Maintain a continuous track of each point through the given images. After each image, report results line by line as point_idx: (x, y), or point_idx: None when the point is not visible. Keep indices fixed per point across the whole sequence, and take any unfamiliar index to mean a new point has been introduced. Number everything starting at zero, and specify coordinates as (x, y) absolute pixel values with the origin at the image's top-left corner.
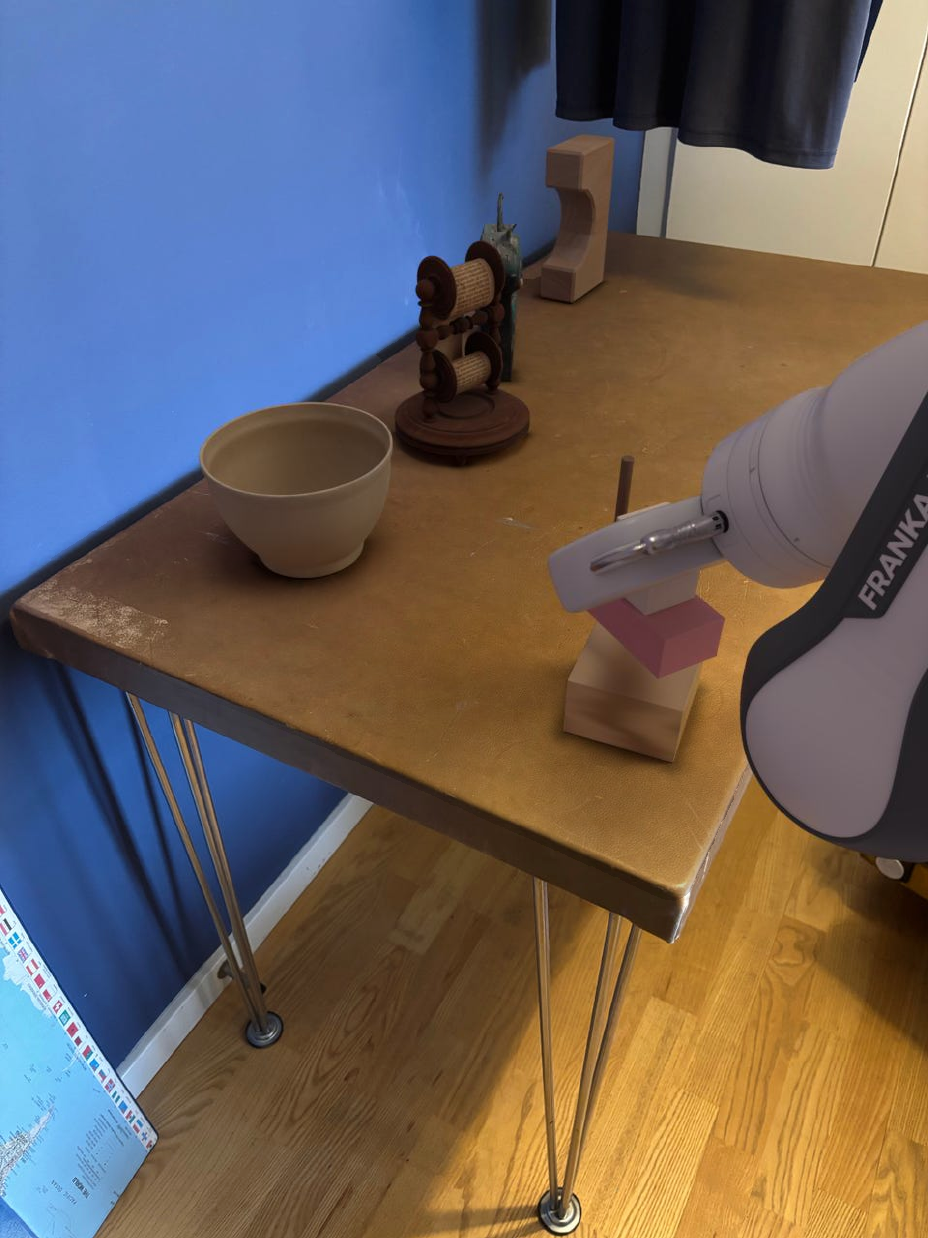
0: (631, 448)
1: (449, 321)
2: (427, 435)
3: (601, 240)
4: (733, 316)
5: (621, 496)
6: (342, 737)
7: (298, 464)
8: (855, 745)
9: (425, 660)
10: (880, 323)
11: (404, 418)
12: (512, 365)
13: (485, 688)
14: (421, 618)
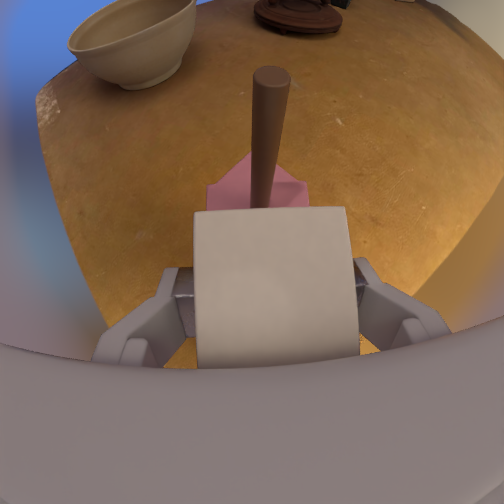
0: (397, 68)
1: None
2: (265, 13)
3: None
4: (466, 46)
5: (255, 148)
6: (68, 230)
7: (161, 19)
8: None
9: (144, 179)
10: None
11: (259, 3)
12: (348, 2)
13: (165, 225)
14: (167, 138)
